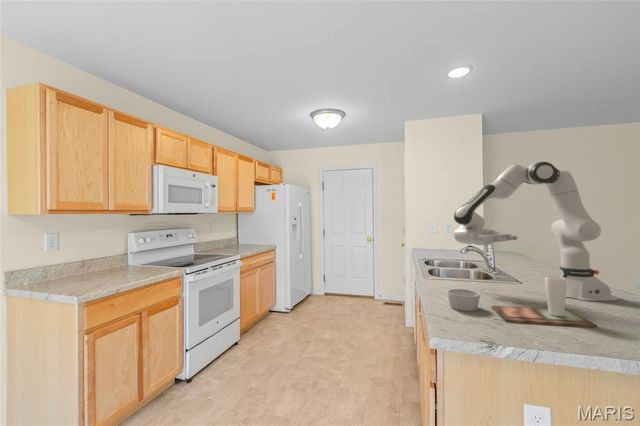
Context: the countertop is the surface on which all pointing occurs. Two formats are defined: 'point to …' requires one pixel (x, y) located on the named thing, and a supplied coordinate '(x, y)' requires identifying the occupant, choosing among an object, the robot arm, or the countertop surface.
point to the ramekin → (463, 299)
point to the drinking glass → (556, 295)
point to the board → (541, 316)
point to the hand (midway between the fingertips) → (511, 238)
